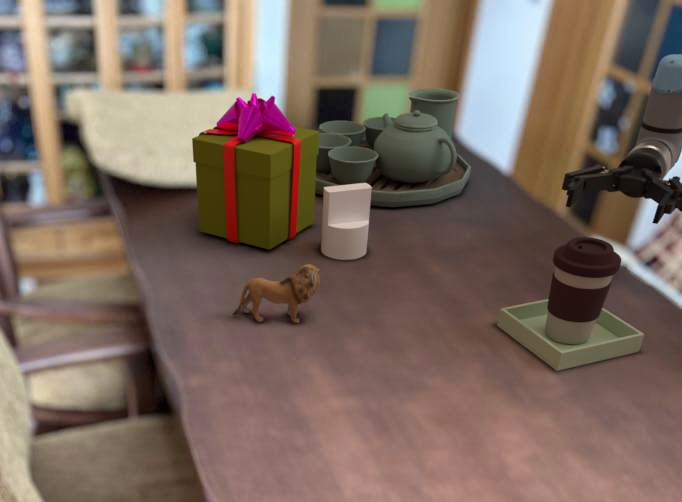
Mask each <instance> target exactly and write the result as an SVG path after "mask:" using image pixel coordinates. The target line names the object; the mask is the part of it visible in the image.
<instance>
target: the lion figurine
mask: <svg viewBox="0 0 682 502" xmlns="http://www.w3.org/2000/svg"><path fill="white" fill-rule="evenodd" d="M320 280H321V279H320V269H319V268H317V267H316V266H315V265H313V264H310V263H308V264H307V263H306V264H303V265H302V266H299V268H298V270H297V271H296V272H294V273H293V274H290V275H289V276H288V277H285V279H283V280H281V281H274V280H269V279H266V278H263V277H255V278H252V279H249V280H248V281H247V282H246V283H245V285H244V287H243V289H242V292H241V297H240V299H239V300H240V301H239V305H238V307H237V308H236V309H235V310H234V312H232V313H231V315H232V316H237V315H238V314H239V313H240V312H241V311H242V312H243V314H249V313H250V312H251V313H252V314H253V316H254V318H255V321H256V322H258V323H262V322H264V317H263V316H260V315H259V311H258V310H259V308H260V305H261V303H262V299H263V298H264V299H266V300H267V301H268V302H270V303H272V304H277V305H282V304H287V313H288V315H289V316H290V319H291V322H293V324H299V323H300V318H299V317H297V314H298V311H299V310H298V309H299V305H301V304H307V303H308V301H310V300H311V297H312V296H314V295H315V293H317V291H318V289H319V286H320V283H321V281H320ZM248 291H249V292H248ZM247 292H248V294H247ZM250 303H252V308H251V309H250V308H249V307H248V305H249V304H250Z"/></svg>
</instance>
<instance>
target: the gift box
mask: <svg viewBox="0 0 682 502" xmlns="http://www.w3.org/2000/svg"><path fill="white" fill-rule="evenodd" d="M275 101H276V96H274V95H271V96H270V97H269V98H268V99H267V100H265V99H264V98H261V97H258V96H257V93H256V92H252V94H251V97H250V99H249V100H247V102H246V101H245V100H243V99H242V98H241V97H240V96H237V97H236V98H235V101H234V103H233V104H232V105H231V106H230V107H229V108H228V109H227V110H226V111H225V113H224V114H223V115H222V116H221V117H220V118H219V119H218V121H217V122H216V124H215V125H216V126H214V127H213V128H209V129H206V130H204V131H201V132H199V134H198V135H197V136H195V137H193V138H192V139H191V143H192V159H193V160H192V161H193V163H195V179H196V198H197V217H198V218H197V219H198V231H199V232H201V233H204V234H209V235H212V236H216V237H220V238H224V239H227V241H228V242H231V243H235V244H241V243H243V244H246V245H250V246H253V247H258V248H262V249H265V250H272V249H273V248H275V247H277V246H279V245H280V244H282V243H283V242H285V241H290V240H291V239H293V238H295V237H296V235H297V234H298V233H299V232H301V231H302V230H304V229H306V228H308V227H309V226H310V225H312V224H314V223H315V207H316V205H315V204H316V192H315V182H316V156H317V155H318V154H319V133H320V130H315V129H309V128H304V127H299V126H294V125H293V124H292V123H291V122H290V120H289V119H288V118H287V117H286V116H285V114H284V113H283V111H282V110H281V109H280V108H279V106H278V105H277V104H276V103H275Z"/></svg>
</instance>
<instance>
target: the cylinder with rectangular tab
mask: <svg viewBox="0 0 682 502" xmlns="http://www.w3.org/2000/svg"><path fill="white" fill-rule="evenodd" d="M371 190H372V187H371V186H370V185H369V184H367V183H358V184H349V185H339V186H330V187H324V195H322V196H323V197H322V198H323V199H322V219H321V240H320V241H321V242H320V252H321V253H322V254H323V255H324V256H325V257H328V258H329V259H334V260H342V261H349V260H350V261H351V260H357V259H361V258H362V257H364V256H365V255H366V254H367V252H368V251H367V249H368V240H369V239H368V237H369V228H370V227H369V226H370V215H371V213H370V212H371V205H370V202H371Z"/></svg>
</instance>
